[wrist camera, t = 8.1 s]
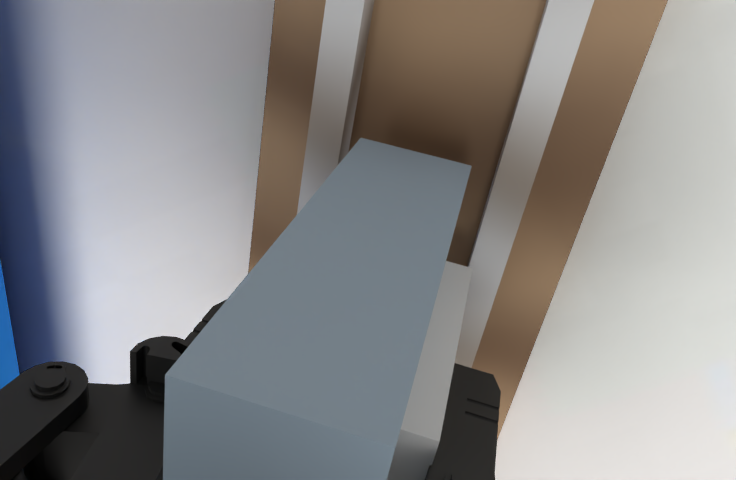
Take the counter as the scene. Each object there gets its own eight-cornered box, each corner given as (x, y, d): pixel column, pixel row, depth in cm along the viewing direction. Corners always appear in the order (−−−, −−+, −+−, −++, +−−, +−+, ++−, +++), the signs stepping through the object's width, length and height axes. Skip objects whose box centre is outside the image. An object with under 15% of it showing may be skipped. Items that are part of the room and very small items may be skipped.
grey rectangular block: (360, 137, 16) (164, 374, 8) (471, 165, 16) (395, 448, 7) (319, 368, 20) (157, 697, 12) (408, 395, 20) (309, 757, 11)
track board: (306, -185, 16) (-106, -377, 6) (700, -110, 15) (1076, -183, 5) (234, 485, 29) (63, 804, 18) (446, 557, 28) (391, 943, 17)
